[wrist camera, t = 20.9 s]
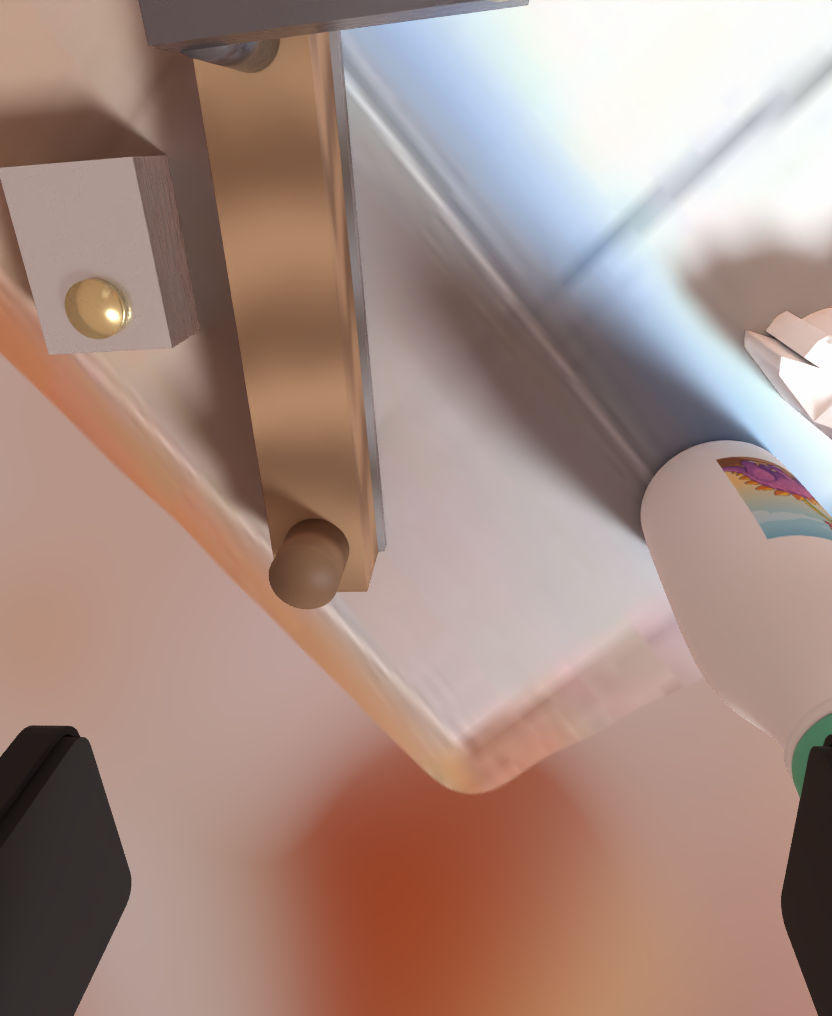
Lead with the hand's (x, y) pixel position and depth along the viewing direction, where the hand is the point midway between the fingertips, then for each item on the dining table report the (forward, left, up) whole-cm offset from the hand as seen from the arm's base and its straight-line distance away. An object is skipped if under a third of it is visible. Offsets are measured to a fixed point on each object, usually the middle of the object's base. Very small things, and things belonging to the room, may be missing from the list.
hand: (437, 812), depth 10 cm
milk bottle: (+10, +12, -31) cm, 34 cm away
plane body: (-1, -8, -30) cm, 31 cm away
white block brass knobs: (-4, -17, -31) cm, 35 cm away
